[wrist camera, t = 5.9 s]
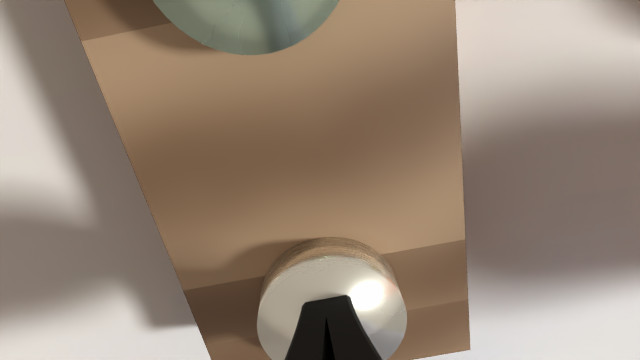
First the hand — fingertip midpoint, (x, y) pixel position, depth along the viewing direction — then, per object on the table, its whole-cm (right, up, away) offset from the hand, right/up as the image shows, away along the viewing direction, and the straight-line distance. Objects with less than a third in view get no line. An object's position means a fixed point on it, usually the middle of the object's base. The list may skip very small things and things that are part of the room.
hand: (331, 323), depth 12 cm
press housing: (-1, +6, +2) cm, 7 cm away
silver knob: (0, +2, +4) cm, 4 cm away
